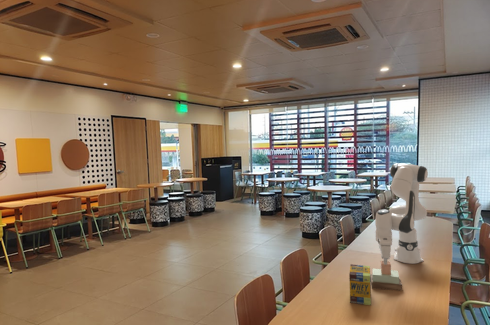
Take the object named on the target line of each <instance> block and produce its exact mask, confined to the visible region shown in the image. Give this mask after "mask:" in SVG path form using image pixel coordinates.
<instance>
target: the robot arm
mask: <svg viewBox="0 0 490 325" xmlns="http://www.w3.org/2000/svg"><path fill="white" fill-rule="evenodd" d="M389 173H390V176H391V178H392V181H391V185H390V190H391V193H393V194H394V195H395V196H396V197H398V198H400V199H401V200H403V201H404V202H405V204H402V205H393V206H391V207H390V208H389V209H385V208H383V209H382V208H381V209H378V210H377V211H376V213H375V221H374V222H375V241H376V242H377V243H378V249H379V251H380V254H381V259H383V260H382V261H383V262H384V265H387V261H388V260H390V258H391V251H392V249H391V248H392V247H391V246H392V245H393V231H398V234H399V235H398V246H397V247H395V248H394V251H395V252H394V254H393V260H394V261H398V262H401V263H404V264H410V265H411V264H413V265H414V264H419V263H421V262H422V263H423V262H424V259H423V258H422V255H421V249H420V248H419V242H418V232H417V229H416V228H415V221H421V220H424V219H426V218H427V216H428V210H427V208H426V207H425V206H424V205H423V204H422V203H421V202H420V198H419V192H420V183H423V182H425V181H426V180H427V178H428V175H429V173H428V168H426V167H425V166H423V165H416V164H412V163H409V164H408V163H400V162H399V163H393V164H392V165H391V167H390V172H389ZM392 230H393V231H392Z"/></svg>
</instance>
